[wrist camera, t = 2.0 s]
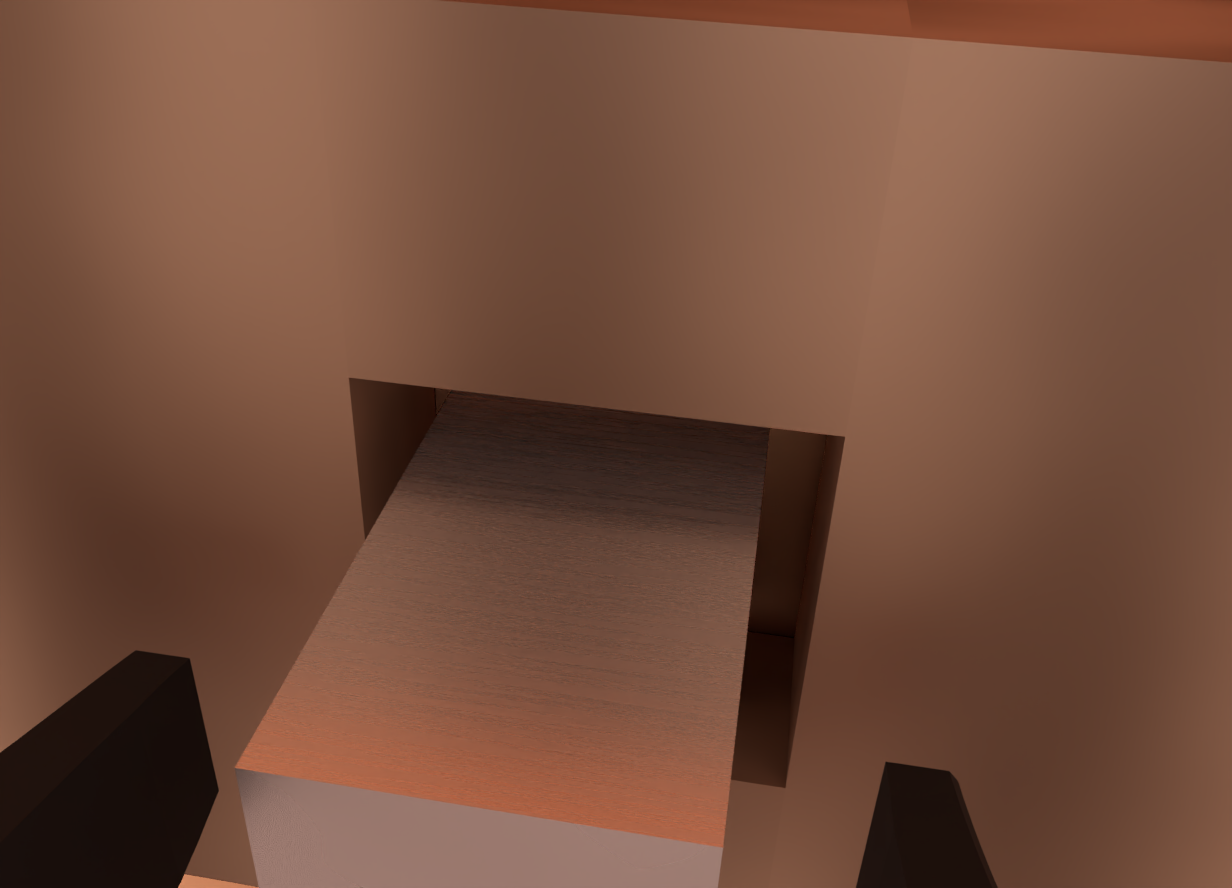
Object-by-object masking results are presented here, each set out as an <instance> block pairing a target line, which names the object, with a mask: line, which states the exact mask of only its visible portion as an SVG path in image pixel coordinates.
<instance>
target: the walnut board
mask: <svg viewBox="0 0 1232 888" xmlns="http://www.w3.org/2000/svg"><path fill="white" fill-rule="evenodd" d="M434 388H441V389H449V390H458V391H466V392H475V393H483V394H491V395H500V396H508V397H516V398H525V399H533V400H542V401H550V402H558V403H567V404H575V405H583V406H592V407H600V408H608V409H617V410H625V411H634V412H642V413H650V414H659V415H667V416H675V417H684V418H692V419H701V420H709V421H717V422H726V423H734V424H742V425H751V426H759V427H768V428H776V429H784V430H793V431H801V432H809V433H818V434H826V435H827V438H826V444H825V450H824V457H823V463H822V469H821V475H820V482H819V488H818V494H817V500H816V507H815V513H814V519H813V525H812V532H811V538H810V544H809V550H808V557H807V563H806V569H805V575H804V582H803V588H802V594H801V600H800V606H799V613H798V619H797V625H796V631H795V638H788V637H781V636H774V635H767V634H760V633H753V632H747V638H746V647H745V656H744V665H743V674H742V683H741V692H740V700H739V709H738V718H737V727H736V736H735V745H734V754H733V763H732V772H731V781H730V790H729V799H728V808H727V817H726V826H725V835H724V844H723V852H722V859H721V867H720V874H719V882H718V888H856V885H857V881H858V876H859V872H860V868H861V864H862V859H863V855H864V851H865V847H866V842H867V838H868V834H869V830H870V825H871V821H872V817H873V813H874V808H875V804H876V800H877V796H878V791H879V787H880V783H881V779H882V774H883V770H884V766H885V762H892V763H899V764H906V765H912V766H919V767H926V768H933V769H939V770H946V771H950V772H951V773H952V775H953V776H954V777H955V778H956V779H957V780H958V782H959V785H960V788H961V792H962V795H963V798H964V801H965V804H966V807H967V809H968V812H969V815H970V818H971V821H972V824H973V826H974V829H975V832H976V834H977V837H978V840H979V842H980V845H981V848H982V850H983V853H984V855H985V858H986V860H987V863H988V865H989V868H990V870H991V872H992V875H993V877H994V880H995V882H996V884H997V887H998V888H1232V0H0V752H2V751H3V750H4V749H6V748H7V747H8V746H10V745H11V744H12V743H14V742H15V741H16V740H18V739H19V738H20V737H22V736H23V735H24V734H25V733H27V732H28V731H29V730H31V729H32V728H33V727H35V726H36V725H37V724H39V723H40V722H41V721H43V720H44V719H45V718H46V717H48V716H49V715H50V714H52V713H53V712H54V711H56V710H57V709H58V708H60V707H61V706H62V705H63V704H65V703H66V702H67V701H69V700H70V699H71V698H73V697H74V696H75V695H77V694H78V693H79V692H81V691H82V690H83V689H84V688H86V687H87V686H88V685H90V684H91V683H92V682H94V681H95V680H96V679H98V678H99V677H100V676H101V675H103V674H104V673H105V672H107V671H108V670H109V669H111V668H112V667H113V666H115V665H116V664H117V663H119V662H120V661H121V660H123V659H124V658H126V657H127V656H128V655H130V654H131V653H132V652H134V651H135V650H138V651H145V652H151V653H158V654H165V655H172V656H178V657H185V658H190V661H191V666H192V670H193V675H194V680H195V684H196V689H197V693H198V698H199V702H200V707H201V711H202V716H203V720H204V725H205V729H206V734H207V738H208V743H209V748H210V752H211V757H212V761H213V766H214V770H215V775H216V779H217V784H218V788H219V792H218V794H217V797H216V799H215V802H214V804H213V807H212V809H211V812H210V814H209V817H208V819H207V822H206V824H205V827H204V829H203V832H202V834H201V837H200V839H199V841H198V844H197V846H196V848H195V851H194V853H193V855H192V857H191V860H190V862H189V864H188V867H187V869H186V871H185V874H187V875H193V876H199V877H204V878H210V879H216V880H221V881H227V882H233V883H239V884H244V885H250V886H256V887H259V886H258V881H257V876H256V871H255V866H254V861H253V856H252V851H251V846H250V841H249V836H248V831H247V827H246V822H245V817H244V812H243V807H242V802H241V797H240V792H239V787H238V782H237V777H236V772H235V766H236V764H237V763H238V761H239V759H240V758H241V756H242V754H243V752H244V751H245V749H246V747H247V745H248V744H249V742H250V740H251V738H252V737H253V735H254V733H255V731H256V730H257V728H258V726H259V724H260V723H261V721H262V719H263V717H264V716H265V714H266V712H267V710H268V709H269V707H270V705H271V704H272V702H273V700H274V698H275V697H276V695H277V693H278V691H279V690H280V688H281V686H282V684H283V683H284V681H285V679H286V677H287V676H288V674H289V672H290V670H291V669H292V667H293V665H294V663H295V662H296V660H297V658H298V656H299V655H300V653H301V651H302V650H303V648H304V646H305V644H306V643H307V641H308V639H309V637H310V636H311V634H312V632H313V630H314V629H315V627H316V625H317V623H318V622H319V620H320V618H321V616H322V615H323V613H324V611H325V609H326V608H327V606H328V604H329V603H330V601H331V599H332V597H333V596H334V594H335V592H336V590H337V589H338V587H339V585H340V583H341V582H342V580H343V578H344V576H345V575H346V573H347V571H348V569H349V568H350V566H351V564H352V562H353V561H354V559H355V557H356V555H357V554H358V552H359V550H360V549H361V547H362V545H363V543H364V542H365V540H366V538H367V536H368V535H369V533H370V531H371V529H372V528H373V526H374V524H375V522H376V521H377V519H378V517H379V515H380V514H381V512H382V510H383V508H384V507H385V505H386V503H387V501H388V500H389V498H390V496H391V495H392V493H393V491H394V489H395V488H396V486H397V484H398V482H399V481H400V479H401V477H402V475H403V474H404V472H405V470H406V468H407V467H408V465H409V463H410V461H411V460H412V458H413V456H414V454H415V453H416V451H417V449H418V448H419V446H420V444H421V442H422V441H423V439H424V437H425V435H426V434H427V432H428V430H429V428H430V427H431V425H432V423H433V421H434V420H435V418H436V413H435V395H434Z"/></svg>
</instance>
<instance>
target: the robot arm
mask: <svg viewBox="0 0 1232 888" xmlns="http://www.w3.org/2000/svg"><path fill="white" fill-rule="evenodd" d="M218 792H219V788H218V784H217V779H216V775H215V770H214V766H213V761H212V757H211V752H210V748H209V743H208V738H207V734H206V729H205V725H204V720H203V716H202V711H201V707H200V702H199V698H198V693H197V689H196V684H195V680H194V675H193V670H192V666H191V661H190V658H185V657H178V656H172V655H165V654H158V653H151V652H145V651H138V650H135V651H134V652H132V653H131V654H130V655H128V656H127V657H126V658H124V659H123V660H121V661H120V662H119V663H117V664H116V665H115V666H113V667H112V668H111V669H109V670H108V671H107V672H105V673H104V674H103V675H101V676H100V677H99V678H98V679H96V680H95V681H94V682H92V683H91V684H90V685H88V686H87V687H86V688H84V689H83V690H82V691H81V692H79V693H78V694H77V695H75V696H74V697H73V698H71V699H70V700H69V701H67V702H66V703H65V704H63V705H62V706H61V707H60V708H58V709H57V710H56V711H54V712H53V713H52V714H50V715H49V716H48V717H46V718H45V719H44V720H43V721H41V722H40V723H39V724H37V725H36V726H35V727H33V728H32V729H31V730H29V731H28V732H27V733H25V734H24V735H23V736H22V737H20V738H19V739H18V740H16V741H15V742H14V743H12V744H11V745H10V746H8V747H7V748H6V749H4V750H3V751H2V752H0V888H178V886H179V884H180V883H181V880H182V878H183V876H184V874H185V871H186V869H187V867H188V864H189V862H190V860H191V857H192V855H193V853H194V851H195V848H196V846H197V844H198V841H199V839H200V837H201V834H202V832H203V829H204V827H205V824H206V822H207V819H208V817H209V814H210V812H211V809H212V807H213V804H214V802H215V799H216V797H217V794H218ZM856 888H998V887H997V884H996V882H995V880H994V877H993V875H992V872H991V870H990V868H989V865H988V863H987V860H986V858H985V855H984V853H983V850H982V848H981V845H980V842H979V840H978V837H977V834H976V832H975V829H974V826H973V824H972V821H971V818H970V815H969V812H968V809H967V807H966V804H965V801H964V798H963V795H962V792H961V788H960V785H959V782H958V780H957V779H956V778H955V777H954V776H953V775H952V773H951V772H950V771H946V770H939V769H933V768H926V767H919V766H912V765H906V764H899V763H892V762H885V766H884V770H883V774H882V779H881V783H880V787H879V791H878V796H877V800H876V804H875V808H874V813H873V817H872V821H871V825H870V830H869V834H868V838H867V842H866V847H865V851H864V855H863V859H862V864H861V868H860V872H859V876H858V881H857V885H856Z"/></svg>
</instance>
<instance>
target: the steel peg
mask: <svg viewBox="0 0 1232 888" xmlns="http://www.w3.org/2000/svg"><path fill="white" fill-rule="evenodd" d="M769 432H770V428H768V427H759V426H751V425H742V424H734V423H726V422H717V421H709V420H701V419H692V418H684V417H675V416H667V415H659V414H650V413H642V412H634V411H625V410H617V409H608V408H600V407H592V406H583V405H575V404H567V403H558V402H550V401H542V400H533V399H525V398H516V397H508V396H500V395H491V394H483V393H475V392H466V391H458V390H451V392H450V394H449V395H448V397H447V399H446V400H445V402H444V404H443V406H442V407H441V409H440V411H439V413H438V414H437V416H436V418H435V420H434V421H433V423H432V425H431V427H430V428H429V430H428V432H427V434H426V435H425V437H424V439H423V441H422V442H421V444H420V446H419V448H418V449H417V451H416V453H415V454H414V456H413V458H412V460H411V461H410V463H409V465H408V467H407V468H406V470H405V472H404V474H403V475H402V477H401V479H400V481H399V482H398V484H397V486H396V488H395V489H394V491H393V493H392V495H391V496H390V498H389V500H388V501H387V503H386V505H385V507H384V508H383V510H382V512H381V514H380V515H379V517H378V519H377V521H376V522H375V524H374V526H373V528H372V529H371V531H370V533H369V535H368V536H367V538H366V540H365V542H364V543H363V545H362V547H361V549H360V550H359V552H358V554H357V555H356V557H355V559H354V561H353V562H352V564H351V566H350V568H349V569H348V571H347V573H346V575H345V576H344V578H343V580H342V582H341V583H340V585H339V587H338V589H337V590H336V592H335V594H334V596H333V597H332V599H331V601H330V603H329V604H328V606H327V608H326V609H325V611H324V613H323V615H322V616H321V618H320V620H319V622H318V623H317V625H316V627H315V629H314V630H313V632H312V634H311V636H310V637H309V639H308V641H307V643H306V644H305V646H304V648H303V650H302V651H301V653H300V655H299V656H298V658H297V660H296V662H295V663H294V665H293V667H292V669H291V670H290V672H289V674H288V676H287V677H286V679H285V681H284V683H283V684H282V686H281V688H280V690H279V691H278V693H277V695H276V697H275V698H274V700H273V702H272V704H271V705H270V707H269V709H268V710H267V712H266V714H265V716H264V717H263V719H262V721H261V723H260V724H259V726H258V728H257V730H256V731H255V733H254V735H253V737H252V738H251V740H250V742H249V744H248V745H247V747H246V749H245V751H244V752H243V754H242V756H241V758H240V759H239V761H238V763H237V764H236V766H235V772H236V777H237V782H238V787H239V792H240V797H241V802H242V807H243V812H244V817H245V822H246V827H247V831H248V836H249V841H250V846H251V851H252V856H253V861H254V866H255V871H256V876H257V881H258V886H259V888H718V882H719V874H720V867H721V859H722V852H723V844H724V835H725V826H726V817H727V808H728V799H729V790H730V781H731V772H732V763H733V754H734V745H735V736H736V727H737V718H738V709H739V700H740V692H741V683H742V674H743V665H744V656H745V647H746V638H747V629H748V620H749V611H750V602H751V593H752V584H753V575H754V566H755V557H756V548H757V539H758V530H759V522H760V513H761V504H762V495H763V486H764V477H765V468H766V459H767V450H768V441H769Z"/></svg>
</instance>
